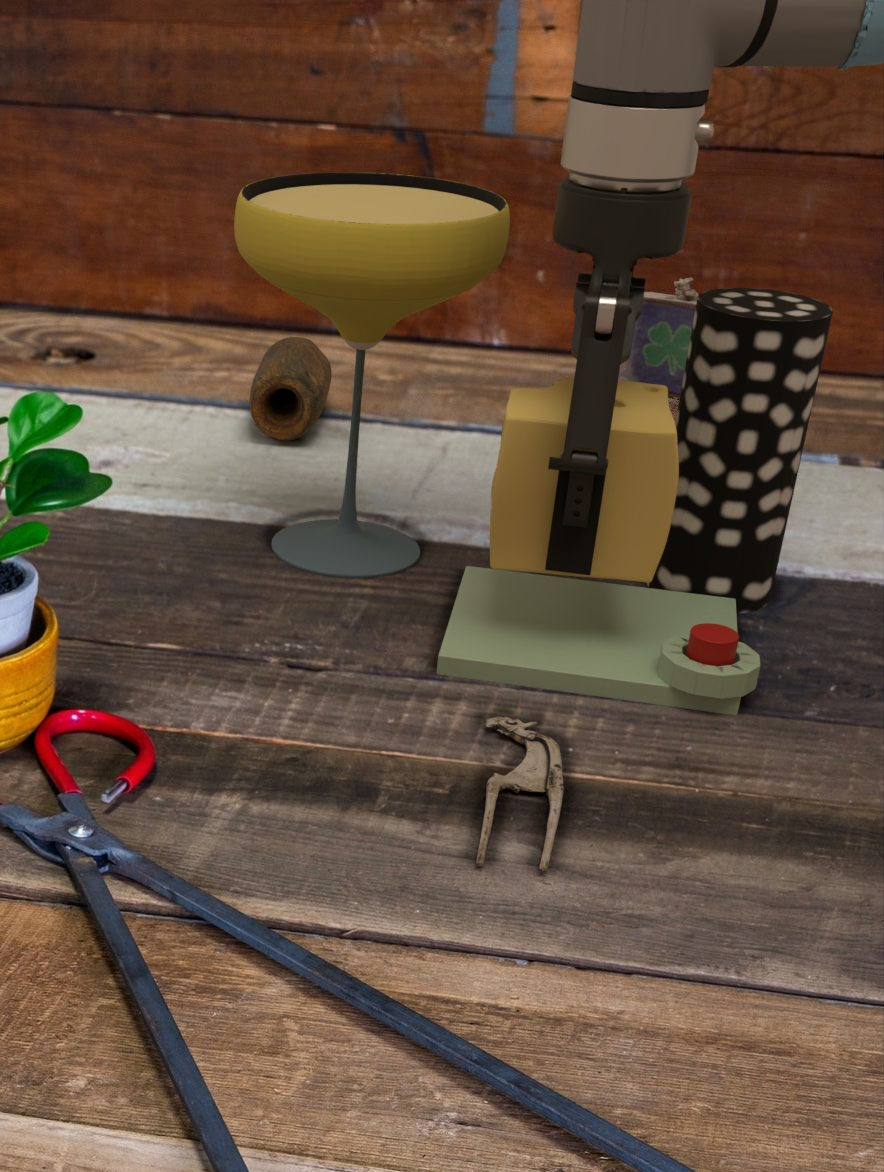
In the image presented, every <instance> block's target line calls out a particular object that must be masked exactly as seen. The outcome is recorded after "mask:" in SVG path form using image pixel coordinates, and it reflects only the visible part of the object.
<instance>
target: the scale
mask: <svg viewBox="0 0 884 1172" xmlns="http://www.w3.org/2000/svg"><path fill="white" fill-rule="evenodd" d="M737 615H738V614H737V613H736V599H733V598H725V597H717V596H709V595H701V594H693V593H684V592H676V591H668V590H660V589H652V588H648V587H644V586H643V587H642V586H635V585H628V584H627V585H626V584H618V583H611V582H602V581H593V580H587V579H578V578H569V577H563V576H562V577H561V576H554V575H553V576H552V575H545V574H539V573H531V572H521V571H507V570H496V569H492V568H489V567H481V566H471V565H466V566H465V568H464V572H463V575H462V578H461V582H460V583H459V588H458V591H457V594H456V597H455V600H454V604H453V607H452V610H451V613H450V616H449V620H448V623H447V625H446V630H445V633H444V636H443V639H442V642H441V645H440V649H439V652H438V655H437V663H436V672H435V673H436V675H438V676H445V677H446V676H447V677H454V678H460V679H461V678H462V679H469V680H476V681H483V682H490V683H497V684H505V685H512V686H519V687H526V688H533V689H541V690H549V691H555V692H562V693H571V694H575V695H584V696H592V697H599V698H606V699H607V698H608V699H612V700H613V699H614V700H621V701H626V702H627V701H628V702H635V703H644V704H650V705H657V706H663V707H672V708H678V709H686V710H693V711H694V710H695V711H700V712H707V713H713V714H722V715H729V716H738V714H739V709H740V704H741V700H742V697H744V696H746V695H748V694H750V693H751V692H753V691H754V690H756V688H757V684H758V679H759V675H760V670H761V655H760V654H759V653H758V652H756V650H754V649H752V647H750V646H748V645H747V644H746V643H744V642H741V641H739V640H738V645H737V650H736V655H735V660H734V663H733V665H726V666H711V665H704V664H701V663H698V662H695V661H693V660H690V659H689V658H688V657H687V656H686V652H687V647H688V641H689V636H690V631H691V628H692V627H693V626H695V625H697V624H703V623H712V624H719V625H723V626H727V627H729V628H731V629H733V630H735V631H736V632H737V633H738V634H739V632H738V616H737Z"/></svg>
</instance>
